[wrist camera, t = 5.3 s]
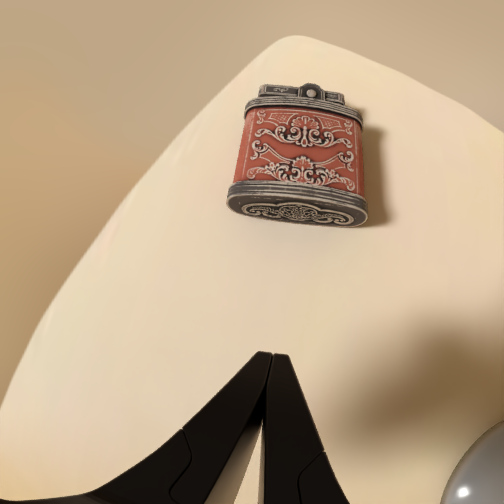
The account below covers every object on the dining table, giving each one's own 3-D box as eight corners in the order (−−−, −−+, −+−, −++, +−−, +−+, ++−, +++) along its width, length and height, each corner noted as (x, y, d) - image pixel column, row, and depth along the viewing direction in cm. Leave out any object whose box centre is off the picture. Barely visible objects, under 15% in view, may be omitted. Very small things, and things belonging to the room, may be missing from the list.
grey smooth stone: (499, 540, 9) (507, 547, 8) (411, 533, 12) (418, 543, 10) (559, 428, 12) (571, 430, 10) (487, 401, 14) (499, 402, 13)
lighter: (358, 231, 19) (354, 113, 22) (375, 207, 16) (364, 82, 19) (229, 216, 20) (251, 101, 23) (222, 189, 16) (249, 69, 20)
